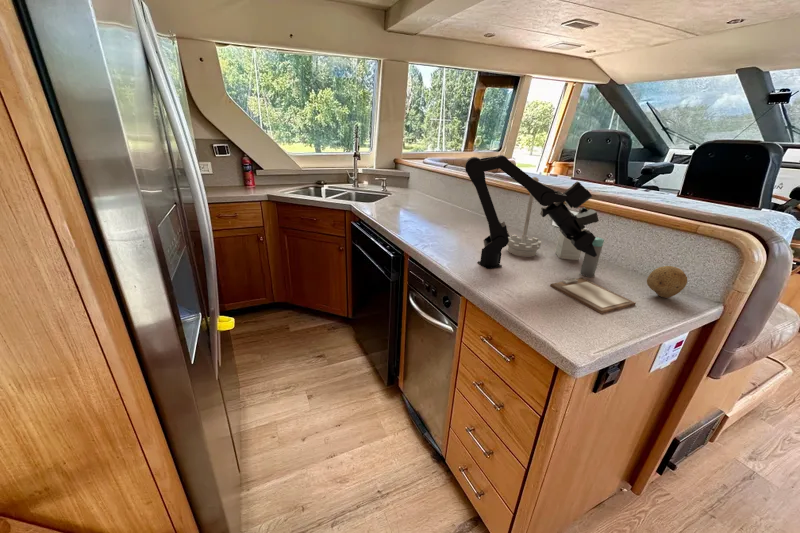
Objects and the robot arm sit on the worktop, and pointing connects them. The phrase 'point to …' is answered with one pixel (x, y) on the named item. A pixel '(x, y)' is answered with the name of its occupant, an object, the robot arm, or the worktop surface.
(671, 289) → the brown potato
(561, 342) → the worktop surface
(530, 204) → the flag stand
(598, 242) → the green-topped grey cylinder
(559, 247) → the supplement box
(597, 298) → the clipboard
